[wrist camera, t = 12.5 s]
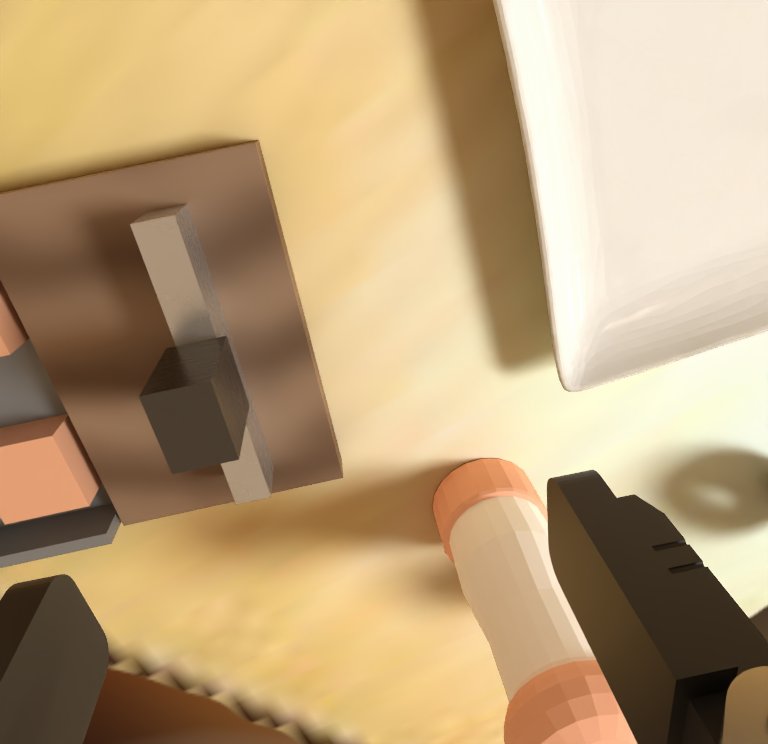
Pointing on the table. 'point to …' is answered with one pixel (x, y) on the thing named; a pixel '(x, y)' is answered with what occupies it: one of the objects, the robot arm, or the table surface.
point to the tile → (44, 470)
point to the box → (61, 530)
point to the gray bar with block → (198, 365)
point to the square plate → (644, 174)
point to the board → (149, 326)
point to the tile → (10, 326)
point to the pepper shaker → (524, 608)
